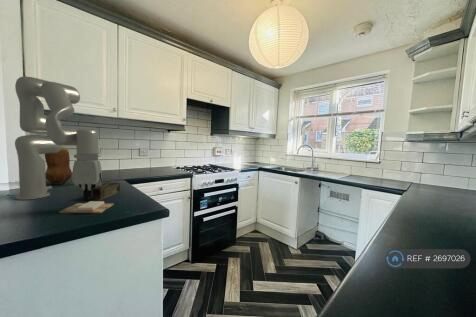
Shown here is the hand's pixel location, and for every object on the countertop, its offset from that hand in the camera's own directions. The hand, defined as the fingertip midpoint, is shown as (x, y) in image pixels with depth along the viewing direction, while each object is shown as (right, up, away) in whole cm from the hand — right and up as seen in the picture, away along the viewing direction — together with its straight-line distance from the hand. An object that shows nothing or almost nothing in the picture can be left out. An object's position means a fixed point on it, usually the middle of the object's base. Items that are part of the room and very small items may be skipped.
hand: (88, 198), depth 90 cm
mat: (0, -5, 0) cm, 4 cm away
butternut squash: (-52, 0, +44) cm, 68 cm away
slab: (0, -3, -2) cm, 4 cm away
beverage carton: (-7, -3, +21) cm, 23 cm away
